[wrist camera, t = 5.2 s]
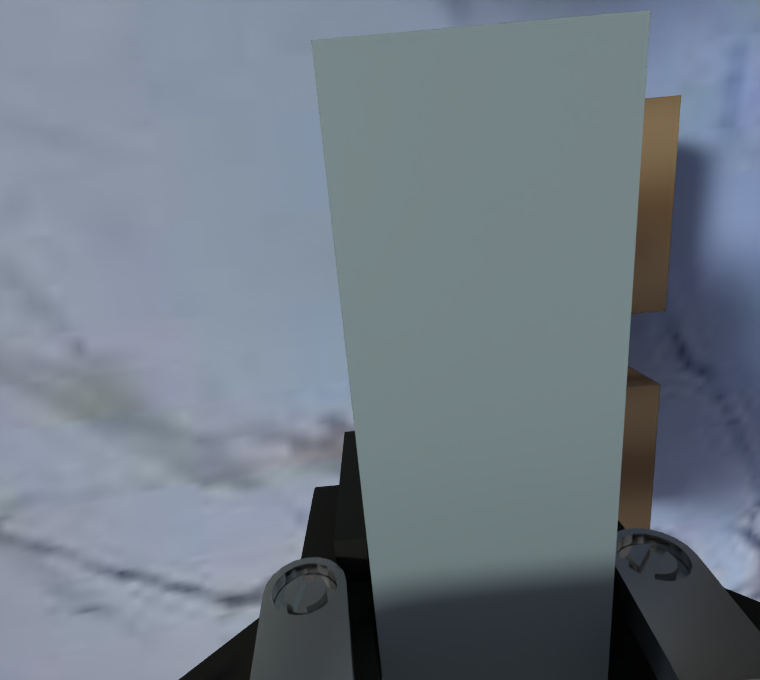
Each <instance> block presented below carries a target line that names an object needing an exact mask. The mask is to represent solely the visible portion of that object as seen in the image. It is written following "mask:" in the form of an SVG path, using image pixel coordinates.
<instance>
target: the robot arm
mask: <svg viewBox="0 0 760 680" xmlns="http://www.w3.org/2000/svg"><path fill="white" fill-rule="evenodd" d="M179 680H382V670H381V661H380V652H379V643H378V634H377V625H376V616H375V607H374V598H373V589H372V580H371V571H370V562H369V553H368V544H367V535H366V526H365V517H364V508H363V499H362V490H361V481H360V472H359V463H358V455H357V446H356V437H355V431H351V432H345V434H344V444H343V454H342V464H341V473H340V483H339V485H335V486H324V487H316V488H315V490H314V494H313V499H312V505H311V510H310V515H309V520H308V525H307V531H306V536H305V541H304V546H303V552H302V557H301V559H300V560H296V561H293V562H291V563H289V564H287V565H285V566H284V567H282V568H281V569H280V570H278V571H277V572H276V573H275V574H274V575H273V576H272V577H271V579H270V580H269V581H268V583H267V584H266V587H265V590H264V593H263V597H262V604H261V610H260V617H259V618H258V619H257V620H256V621H254V622H253V623H252V624H250V625H249V626H248V627H247V628H245V629H244V630H243V631H241V632H240V633H239V634H237V635H236V636H235V637H234V638H232V639H231V640H230V641H228V642H227V643H226V644H224V645H223V646H222V647H221V648H219V649H218V650H217V651H215V652H214V653H213V654H211V655H210V656H209V657H208V658H206V659H205V660H204V661H202V662H201V663H200V664H199V665H197V666H196V667H195V668H193V669H192V670H191V671H189V672H188V673H187V674H186V675H184V676H183V677H182V678H180V679H179ZM608 680H760V602H758V601H756V600H753V599H751V598H748V597H746V596H743V595H741V594H738V593H736V592H733V591H731V590H728V589H726V588H724V587H723V586H722V585H721V584H720V582H719V581H718V580H717V579H716V577H715V576H714V575H713V574H712V573H711V571H710V570H709V569H708V568H707V566H706V565H705V564H704V563H703V562H702V560H701V559H700V558H699V557H698V555H697V554H696V553H695V552H694V551H693V550H691V549H690V548H689V547H688V546H687V545H686V544H684V543H682V542H681V541H679V540H678V539H676V538H674V537H672V536H669V535H667V534H664V533H662V532H658V531H654V530H650V529H643V528H630V529H625V527H624V526H623V525H622V524H621V523H620V521H619V520H618V526H617V542H616V557H615V573H614V589H613V604H612V620H611V635H610V651H609V667H608Z"/></svg>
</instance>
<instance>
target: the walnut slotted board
mask: <svg viewBox="0 0 760 680" xmlns="http://www.w3.org/2000/svg"><path fill="white" fill-rule="evenodd" d="M680 104H681V95H679V96H668V97H657V98H646V99H645V105H644V120H643V136H642V152H641V167H640V183H639V198H638V214H637V230H636V245H635V261H634V276H633V292H632V308H631V314H634V313H645V312H657V311H666V298H667V284H668V271H669V257H670V243H671V229H672V215H673V201H674V187H675V174H676V160H677V146H678V132H679V118H680ZM659 395H660V384H659V383H657V382H655V381H653V380H652V379H650V378H648V377H646V376H645V375H643V374H641V373H639V372H638V371H636V370H634V369H632V368H631V367H629V366H628V370H627V386H626V401H625V417H624V433H623V448H622V464H621V479H620V495H619V511H618V520H619V521H620V523H621V524H622V525H623V526H624V527H625V529H630V528H643V529H650V520H651V506H652V492H653V478H654V464H655V451H656V437H657V423H658V409H659Z"/></svg>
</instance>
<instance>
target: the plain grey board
mask: <svg viewBox="0 0 760 680" xmlns="http://www.w3.org/2000/svg"><path fill="white" fill-rule="evenodd" d="M650 11H651V10H645V11H634V12H623V13H611V14H600V15H589V16H578V17H566V18H555V19H544V20H533V21H521V22H510V23H499V24H488V25H477V26H465V27H454V28H443V29H432V30H420V31H409V32H398V33H387V34H376V35H364V36H353V37H342V38H331V39H319V40H311V42H312V51H313V60H314V69H315V78H316V87H317V96H318V105H319V114H320V123H321V132H322V141H323V150H324V159H325V168H326V177H327V186H328V195H329V204H330V212H331V221H332V230H333V239H334V248H335V257H336V266H337V275H338V284H339V293H340V302H341V311H342V320H343V329H344V338H345V347H346V356H347V365H348V374H349V383H350V392H351V401H352V410H353V419H354V428H355V437H356V446H357V455H358V463H359V472H360V481H361V490H362V499H363V508H364V517H365V526H366V535H367V544H368V553H369V562H370V571H371V580H372V589H373V598H374V607H375V616H376V625H377V634H378V643H379V652H380V661H381V670H382V679H383V680H608V667H609V651H610V635H611V620H612V604H613V589H614V573H615V557H616V542H617V526H618V511H619V495H620V479H621V464H622V448H623V433H624V417H625V401H626V386H627V370H628V355H629V339H630V323H631V308H632V292H633V276H634V261H635V245H636V230H637V214H638V198H639V183H640V167H641V152H642V136H643V120H644V105H645V89H646V74H647V58H648V42H649V27H650Z"/></svg>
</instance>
